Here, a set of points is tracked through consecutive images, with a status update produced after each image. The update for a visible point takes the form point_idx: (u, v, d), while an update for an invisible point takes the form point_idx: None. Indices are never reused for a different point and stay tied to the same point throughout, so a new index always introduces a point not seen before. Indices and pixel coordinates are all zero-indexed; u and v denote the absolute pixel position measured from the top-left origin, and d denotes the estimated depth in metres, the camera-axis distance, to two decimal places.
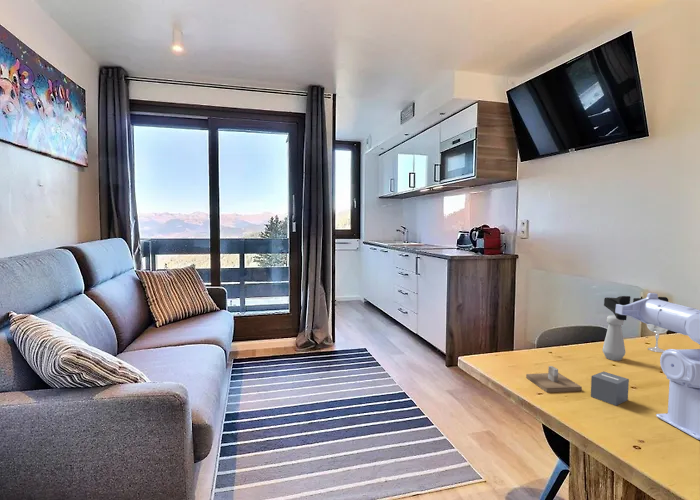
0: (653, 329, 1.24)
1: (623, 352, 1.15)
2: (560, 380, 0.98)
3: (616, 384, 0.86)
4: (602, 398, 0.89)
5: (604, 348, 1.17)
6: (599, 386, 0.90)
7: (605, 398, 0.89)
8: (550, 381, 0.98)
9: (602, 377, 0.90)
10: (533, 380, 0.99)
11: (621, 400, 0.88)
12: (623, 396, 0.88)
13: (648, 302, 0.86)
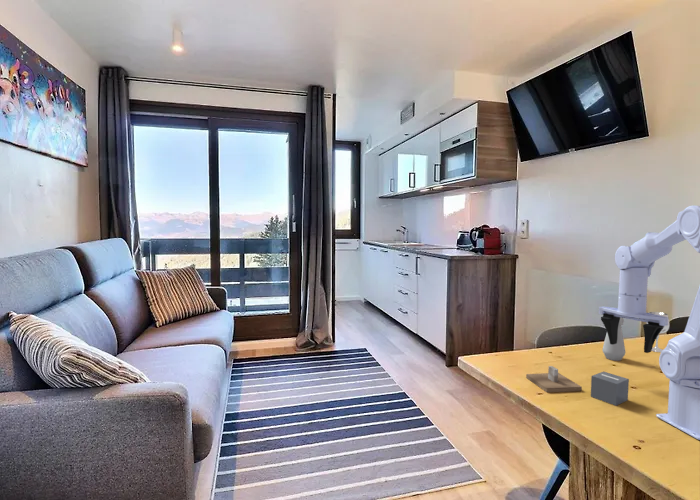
0: None
1: (623, 352, 1.15)
2: (560, 380, 0.98)
3: (616, 384, 0.86)
4: (602, 398, 0.89)
5: (604, 348, 1.17)
6: (599, 386, 0.90)
7: (605, 398, 0.89)
8: (550, 381, 0.98)
9: (602, 377, 0.90)
10: (533, 380, 0.99)
11: (621, 400, 0.88)
12: (623, 396, 0.88)
13: None
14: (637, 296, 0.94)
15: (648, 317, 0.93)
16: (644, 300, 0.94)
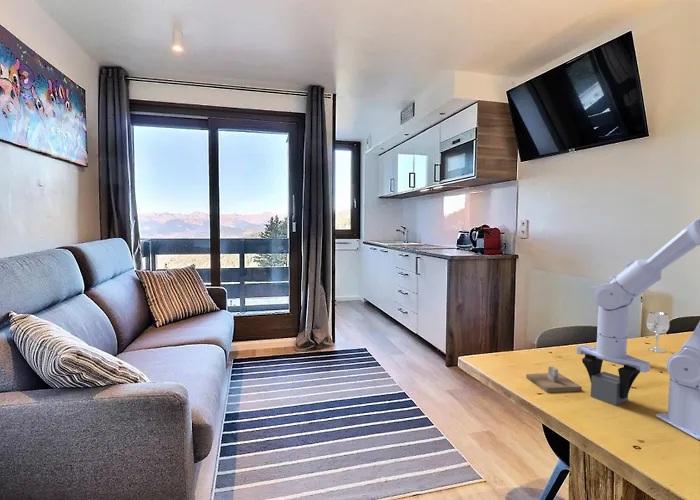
0: (653, 329, 1.24)
1: None
2: (560, 380, 0.98)
3: (616, 384, 0.86)
4: (602, 398, 0.89)
5: None
6: (599, 386, 0.90)
7: (605, 398, 0.89)
8: (550, 381, 0.98)
9: (602, 377, 0.90)
10: (533, 380, 0.99)
11: (621, 400, 0.88)
12: None
13: None
14: (616, 338, 0.87)
15: (628, 362, 0.85)
16: (624, 342, 0.87)
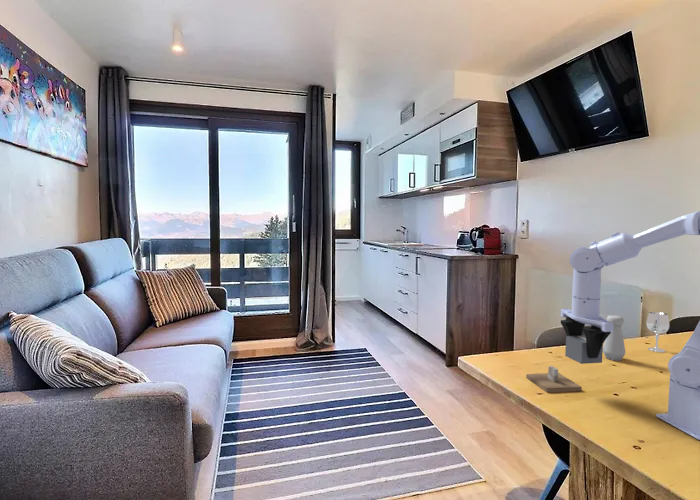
0: (653, 329, 1.24)
1: (623, 352, 1.15)
2: (560, 380, 0.98)
3: (581, 342, 0.90)
4: (572, 357, 0.93)
5: (604, 348, 1.17)
6: (571, 345, 0.94)
7: (574, 357, 0.93)
8: (550, 381, 0.98)
9: (575, 338, 0.94)
10: (533, 380, 0.99)
11: (590, 360, 0.91)
12: None
13: None
14: (584, 299, 0.90)
15: (592, 321, 0.88)
16: (592, 304, 0.90)
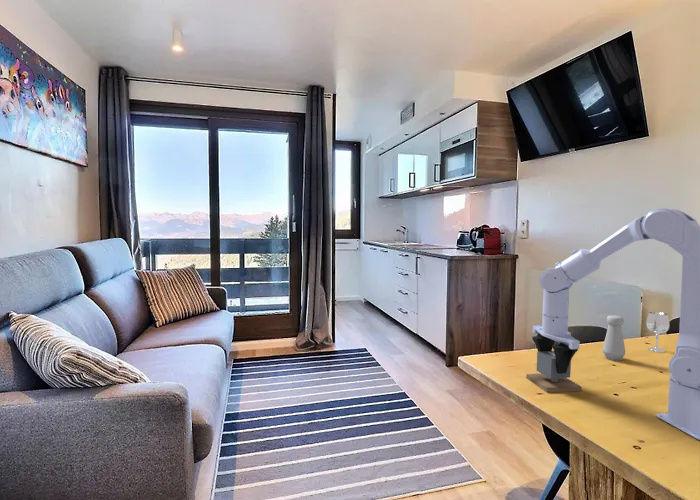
0: (653, 329, 1.24)
1: (623, 352, 1.15)
2: (560, 380, 0.98)
3: (551, 359, 0.95)
4: (543, 372, 0.98)
5: (604, 348, 1.17)
6: (541, 361, 0.99)
7: (544, 372, 0.97)
8: (550, 381, 0.98)
9: (545, 353, 0.99)
10: (533, 380, 0.99)
11: (559, 375, 0.96)
12: None
13: None
14: (553, 317, 0.95)
15: (560, 339, 0.93)
16: (561, 322, 0.95)
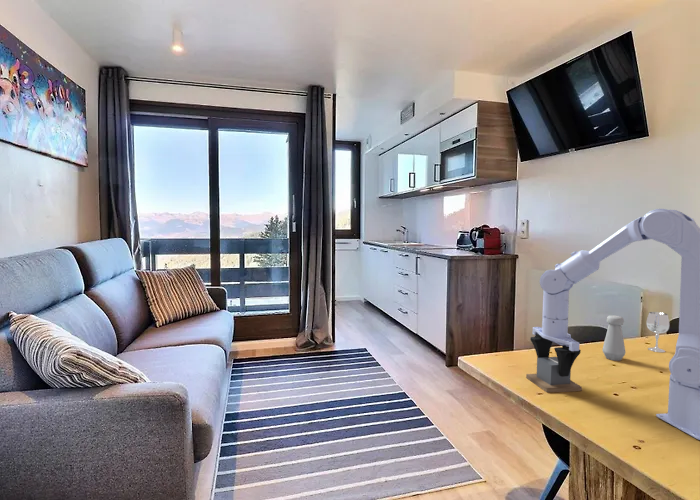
0: (653, 329, 1.24)
1: (623, 352, 1.15)
2: None
3: (551, 365, 0.95)
4: (543, 378, 0.98)
5: (604, 348, 1.17)
6: (541, 367, 0.99)
7: (544, 378, 0.97)
8: None
9: (545, 360, 0.99)
10: (533, 380, 0.99)
11: (559, 382, 0.96)
12: (562, 378, 0.96)
13: None
14: (553, 319, 0.95)
15: (560, 341, 0.93)
16: (561, 324, 0.95)
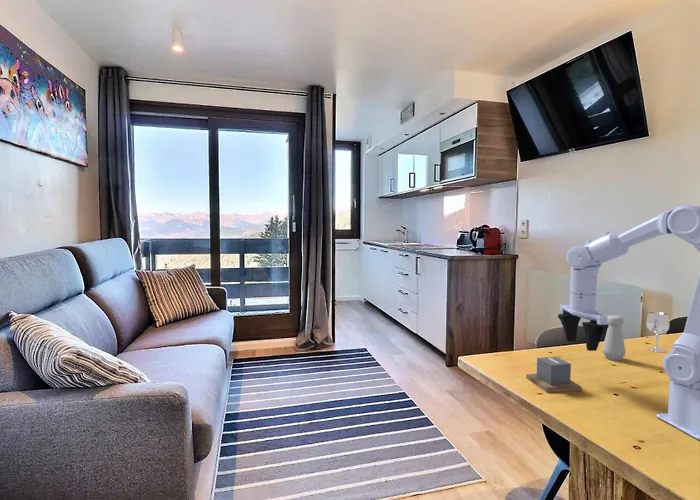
0: (653, 329, 1.24)
1: (623, 352, 1.15)
2: None
3: (551, 365, 0.95)
4: (543, 378, 0.98)
5: (604, 348, 1.17)
6: (541, 367, 0.99)
7: (544, 378, 0.97)
8: None
9: (545, 360, 0.99)
10: (533, 380, 0.99)
11: (559, 382, 0.96)
12: (562, 378, 0.96)
13: None
14: (580, 294, 0.97)
15: (588, 315, 0.95)
16: (589, 299, 0.96)
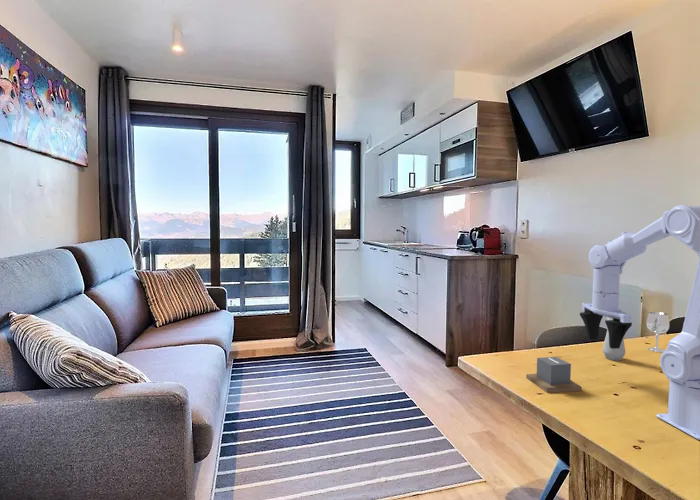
0: (653, 329, 1.24)
1: (623, 352, 1.15)
2: None
3: (551, 365, 0.95)
4: (543, 378, 0.98)
5: (604, 348, 1.17)
6: (541, 367, 0.99)
7: (544, 378, 0.97)
8: None
9: (545, 360, 0.99)
10: (533, 380, 0.99)
11: (559, 382, 0.96)
12: (562, 378, 0.96)
13: None
14: (603, 293, 0.98)
15: (611, 313, 0.96)
16: (612, 297, 0.98)
